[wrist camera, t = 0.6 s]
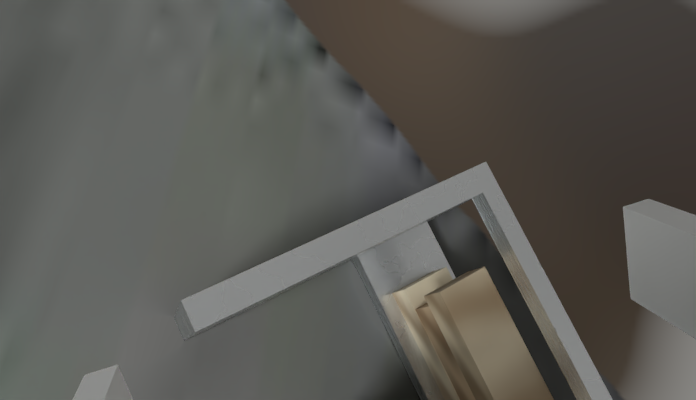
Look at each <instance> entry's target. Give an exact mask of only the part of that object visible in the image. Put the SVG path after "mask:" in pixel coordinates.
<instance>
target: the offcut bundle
mask: <svg viewBox="0 0 696 400" xmlns="http://www.w3.org/2000/svg"><path fill="white" fill-rule="evenodd" d="M392 294H393V296H394V298H395V300H396V302H397V304H398V306H399V308H400V310H401V313H402V315H403V317H404V319H405V321H406V323H407V325H408V327H409V329H410V331H411V333H412V335H413V337H414V339H415V341H416V343H417V345H418V347H419V349H420V351H421V353H422V355H423V357H424V359H425V361H426V363H427V365H428V367H429V369H430V371H431V373H432V375H433V377H434V379H435V381H436V383H437V385H438V387H439V389H440V391H441V394H442V396H443V398H444V400H554V399H553V397H552V395H551V393H550V391H549V389H548V387H547V386H546V384H545V382H544V380H543V378H542V376H541V374H540V372H539V370H538V368H537V366H536V364H535V362H534V360H533V359H532V357H531V355H530V353H529V351H528V349H527V347H526V345H525V343H524V341H523V339H522V337H521V335H520V333H519V331H518V330H517V328H516V326H515V324H514V322H513V320H512V318H511V316H510V314H509V312H508V310H507V308H506V306H505V304H504V303H503V301H502V299H501V297H500V295H499V293H498V291H497V289H496V287H495V285H494V283H493V281H492V279H491V277H490V276H489V274H488V272H487V270H486V268H485V267H482V268H478V269H475V270H472V271H468V272H466V273H464V274H462V275H461V276H459V277H457V278H455V279H452V277H451V275H450V273H449V271H448V269H447V267H444V268H441V269H438V270H435V271H432V272H430V273H429V274H427V275H425V276H423V277H421V278H419V279H418V280H416V281H414V282H412V283H410V284H408V285H406V286H405V287H403V288H401V289H399V290H397V291H395V292H393V293H392Z"/></svg>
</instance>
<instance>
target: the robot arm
mask: <svg viewBox="0 0 696 400" xmlns="http://www.w3.org/2000/svg"><path fill="white" fill-rule="evenodd" d="M623 215H624V226H625V238H626V249H627V262H628V274H629V286H630V298H631V299H632V300H634V301H635V302H637V303H638V304H640V305H641V306H643V307H645V308H646V309H648V310H650V311H651V312H653V313H654V314H656V315H658V316H659V317H661V318H662V319H664V320H666V321H667V322H669V323H671V324H672V325H674V326H675V327H677V328H679V329H680V330H682V331H683V332H685V333H687V334H688V335H690V336H692V337H693V338H695V339H696V215H694V214H691V213H688V212H685V211H682V210H679V209H677V208H674V207H671V206H668V205H665V204H662V203H660V202H657V201H653V200H651V199H646V200H643V201H640V202H637V203H634V204H630V205H627V206H624V207H623ZM73 400H133V398H132V396H131V394H130V392H129V389H128V387H127V385H126V382H125V380H124V378H123V375H122V373H121V371H120V368H119V366H118V365H115V366H111V367H108V368H105V369H102V370H99V371H95V372H92V373H89V374H86V375H84V377H83V379H82V381H81V383H80V385H79V387H78V389H77V392H76V394H75V396H74V398H73Z"/></svg>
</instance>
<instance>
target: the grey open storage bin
mask: <svg viewBox="0 0 696 400" xmlns="http://www.w3.org/2000/svg"><path fill="white" fill-rule="evenodd" d="M470 199H472V200H473V202H474V204H475V206H476V208H477V210H478V212H479V214H480V216H481V218H482V220H483V222H484V223H485V225H486V227H487V229H488V231H489V233H490V235H491V237H492V239H493V241H494V243H495V244H496V246H497V248H498V250H499V252H500V254H501V256H502V258H503V260H504V262H505V264H506V266H507V267H508V269H509V271H510V273H511V275H512V277H513V279H514V281H515V283H516V285H517V287H518V288H519V290H520V292H521V294H522V296H523V298H524V300H525V302H526V304H527V306H528V308H529V309H530V311H531V313H532V315H533V317H534V319H535V321H536V323H537V325H538V327H539V329H540V330H541V332H542V334H543V336H544V338H545V340H546V342H547V344H548V346H549V348H550V350H551V351H552V353H553V355H554V357H555V359H556V361H557V363H558V365H559V367H560V369H561V371H562V372H563V374H564V376H565V378H566V380H567V382H568V384H569V386H570V388H571V390H572V392H573V393H574V395H575V397H576V399H577V400H612V398H611V396H610V394H609V392H608V390H607V388H606V386H605V384H604V383H603V381H602V379H601V377H600V375H599V373H598V371H597V369H596V368H595V366H594V364H593V362H592V360H591V358H590V356H589V354H588V353H587V351H586V349H585V347H584V345H583V343H582V341H581V339H580V337H579V336H578V334H577V332H576V330H575V328H574V326H573V324H572V323H571V321H570V319H569V317H568V315H567V313H566V311H565V309H564V307H563V305H562V304H561V302H560V300H559V298H558V296H557V294H556V292H555V290H554V289H553V287H552V285H551V283H550V281H549V279H548V277H547V275H546V274H545V272H544V270H543V268H542V266H541V264H540V262H539V260H538V259H537V257H536V255H535V253H534V251H533V249H532V247H531V245H530V244H529V241H528V240H527V238H526V236H525V234H524V232H523V230H522V228H521V226H520V225H519V223H518V221H517V219H516V217H515V215H514V213H513V212H512V210H511V208H510V206H509V204H508V202H507V200H506V198H505V197H504V195H503V193H502V191H501V189H500V187H499V185H498V183H497V181H496V179H495V178H494V176H493V174H492V172H491V170H490V168H489V166H488V164H487V162H484V163H482V164H480V165H477V166H475V167H473V168H471V169H469V170H466V171H464V172H462V173H460V174H458V175H456V176H453V177H451V178H449V179H447V180H445V181H442V182H440V183H438V184H436V185H433V186H431V187H429V188H427V189H425V190H422V191H420V192H418V193H416V194H414V195H411V196H409V197H407V198H405V199H403V200H400V201H398V202H396V203H394V204H392V205H389V206H387V207H385V208H383V209H381V210H378V211H376V212H374V213H372V214H370V215H367V216H365V217H363V218H361V219H359V220H356V221H354V222H352V223H350V224H348V225H346V226H343V227H341V228H339V229H337V230H335V231H332V232H330V233H328V234H326V235H324V236H321V237H319V238H317V239H315V240H313V241H310V242H308V243H306V244H304V245H302V246H299V247H297V248H295V249H293V250H291V251H288V252H286V253H284V254H282V255H280V256H277V257H275V258H273V259H271V260H269V261H266V262H264V263H262V264H260V265H258V266H255V267H253V268H251V269H249V270H247V271H244V272H242V273H240V274H238V275H236V276H233V277H231V278H229V279H227V280H225V281H222V282H220V283H218V284H216V285H214V286H211V287H209V288H207V289H205V290H203V291H200V292H198V293H196V294H194V295H192V296H189V297H187V298H185V299H183V300H181V301H180V304H179V306H178V309H177V311H176V314H175V316H174V319H175V321H176V324H177V326H178V328H179V331H180V333H181V335H182V337H183V340H184V341H185V340H187V339H189V338H191V337H193V336H195V335H197V334H199V333H201V332H203V331H205V330H207V329H209V328H211V327H213V326H215V325H218V324H220V323H222V322H224V321H226V320H228V319H230V318H232V317H234V316H236V315H238V314H240V313H242V312H244V311H246V310H248V309H250V308H252V307H254V306H256V305H259V304H261V303H263V302H265V301H267V300H269V299H271V298H273V297H275V296H277V295H279V294H281V293H283V292H285V291H287V290H289V289H291V288H293V287H295V286H297V285H299V284H302V283H304V282H306V281H308V280H310V279H312V278H314V277H316V276H318V275H320V274H322V273H324V272H326V271H328V270H330V269H332V268H334V267H336V266H338V265H340V264H343V263H345V262H347V261H349V260H351V259H352V261H353V263H354V265H355V267H356V269H357V271H358V273H359V275H360V277H361V279H362V281H363V283H364V285H365V287H366V289H367V291H368V293H369V296H370V298H371V300H372V302H373V304H374V306H375V308H376V310H377V312H378V314H379V316H380V318H381V320H382V322H383V324H384V326H385V328H386V330H387V332H388V334H389V336H390V339H391V341H392V343H393V345H394V347H395V349H396V351H397V353H398V355H399V357H400V359H401V361H402V363H403V365H404V367H405V369H406V371H407V373H408V375H409V377H410V379H411V382H412V384H413V386H414V388H415V390H416V392H417V394H418V396H419V398H420V400H444V398H443V396H442V394H441V391H440V389H439V387H438V385H437V383H436V381H435V379H434V377H433V375H432V373H431V371H430V369H429V367H428V365H427V363H426V361H425V359H424V357H423V355H422V353H421V351H420V349H419V347H418V345H417V343H416V341H415V339H414V337H413V335H412V333H411V331H410V329H409V327H408V325H407V323H406V321H405V319H404V317H403V315H402V313H401V310H400V308H399V306H398V304H397V302H396V300H395V298H394V296H393V294H392V293H393V292H395V291H397V290H399V289H401V288H403V287H405V286H406V285H408V284H410V283H412V282H414V281H416V280H418V279H419V278H421V277H423V276H425V275H427V274H429V273H430V272H432V271H435V270H438V269H441V268H444V267H447V269H448V271H449V273H450V275H451V277H452V279H455V278H456V277H455V275H454V273H453V271H452V269H451V267H450V265H449V263H448V261H447V259H446V258H445V256H444V254H443V252H442V250H441V248H440V246H439V244H438V242H437V240H436V238H435V236H434V234H433V232H432V230H431V228H430V226H429V224H428V221H430V220H432V219H434V218H436V217H438V216H440V215H442V214H443V213H445V212H447V211H449V210H451V209H453V208H455V207H457V206H459V205H461V204H463V203H465V202H467V201H469V200H470Z"/></svg>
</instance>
